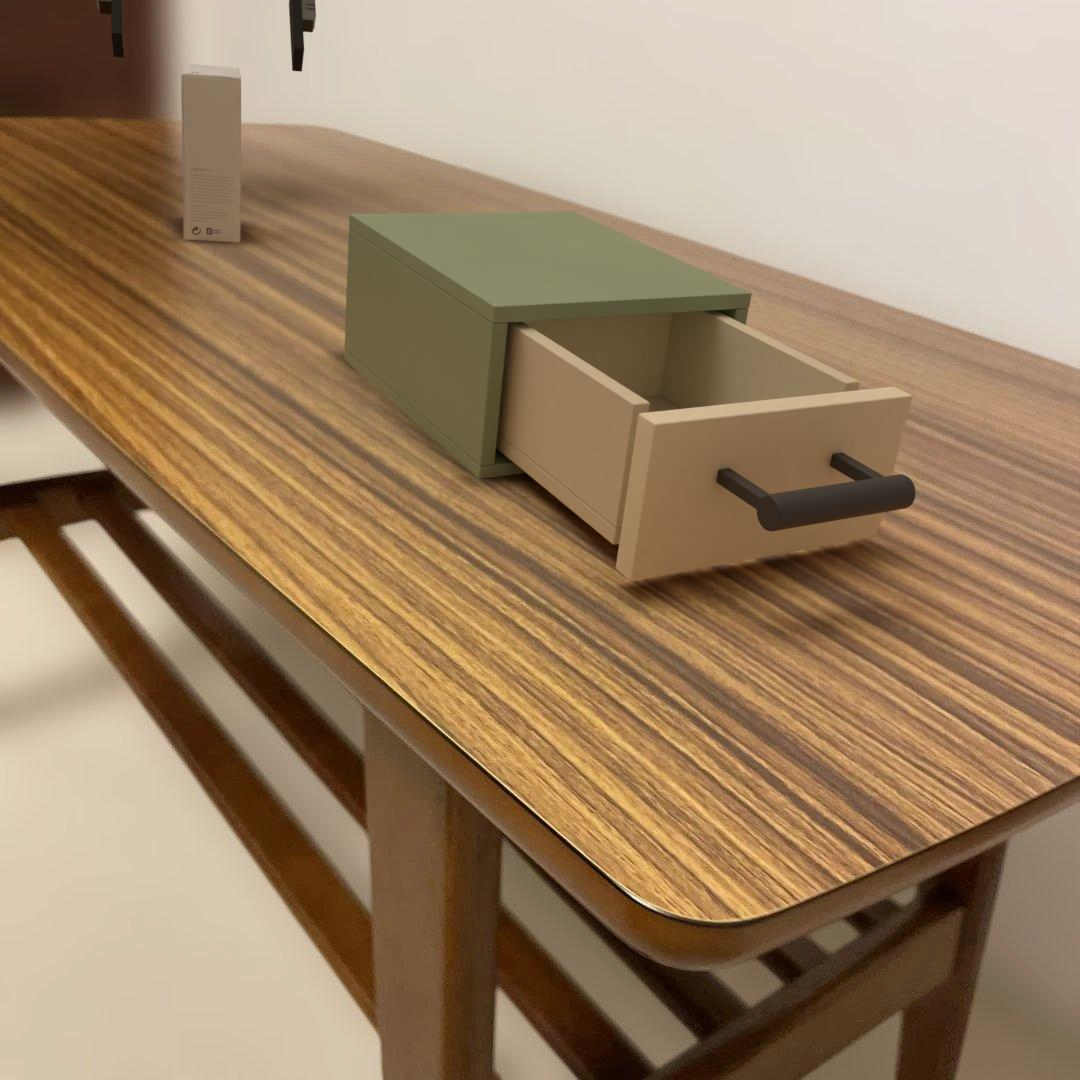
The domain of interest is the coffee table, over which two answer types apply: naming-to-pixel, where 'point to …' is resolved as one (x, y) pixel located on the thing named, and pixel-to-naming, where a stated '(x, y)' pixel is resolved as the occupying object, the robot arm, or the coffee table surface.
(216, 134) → the cosmetic box
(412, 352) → the cabinet
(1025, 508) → the coffee table surface
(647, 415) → the drawer
